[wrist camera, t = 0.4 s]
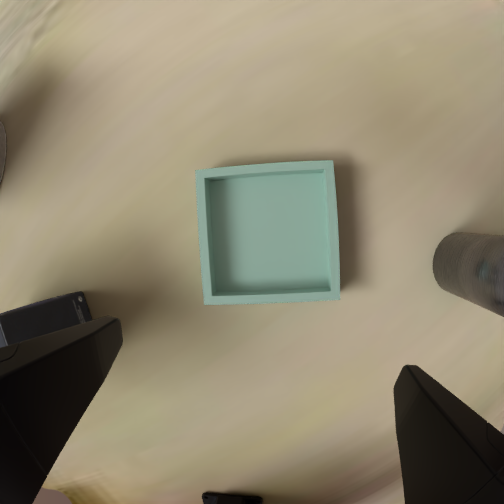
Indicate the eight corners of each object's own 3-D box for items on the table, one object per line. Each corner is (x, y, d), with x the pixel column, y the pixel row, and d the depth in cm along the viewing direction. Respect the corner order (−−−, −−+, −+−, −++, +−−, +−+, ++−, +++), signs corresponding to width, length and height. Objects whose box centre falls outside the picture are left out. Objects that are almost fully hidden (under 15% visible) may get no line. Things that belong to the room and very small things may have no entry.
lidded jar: (477, 290, 20) (576, 329, 8) (431, 295, 21) (528, 349, 9) (478, 231, 20) (585, 238, 8) (432, 233, 20) (540, 241, 8)
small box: (82, 285, 24) (-5, 312, 14) (107, 353, 24) (34, 404, 14) (21, 308, 26) (-50, 332, 15) (42, 364, 26) (-23, 400, 16)
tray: (335, 293, 22) (340, 299, 20) (211, 298, 23) (204, 304, 21) (329, 165, 21) (332, 160, 19) (203, 174, 22) (195, 170, 20)
